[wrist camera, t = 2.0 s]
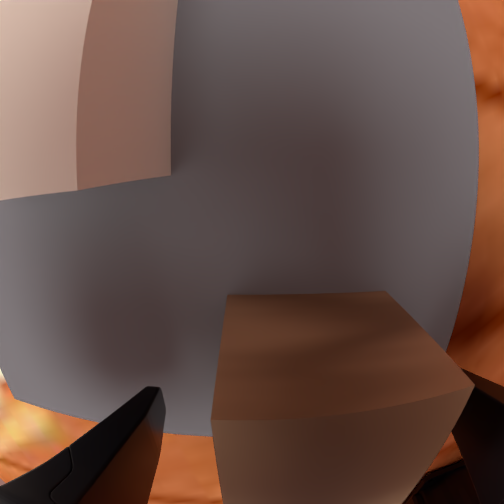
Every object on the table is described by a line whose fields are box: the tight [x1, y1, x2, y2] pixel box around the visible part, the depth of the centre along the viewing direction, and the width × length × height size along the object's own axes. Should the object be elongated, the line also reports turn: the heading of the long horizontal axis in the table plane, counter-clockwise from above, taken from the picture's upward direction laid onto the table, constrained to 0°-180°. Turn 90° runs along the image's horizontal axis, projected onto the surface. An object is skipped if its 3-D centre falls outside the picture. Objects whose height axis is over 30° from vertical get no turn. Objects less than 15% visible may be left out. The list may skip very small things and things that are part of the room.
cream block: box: [0, 0, 178, 200], centre depth 5 cm, size 6×6×5 cm
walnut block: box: [211, 291, 475, 504], centre depth 7 cm, size 5×5×5 cm
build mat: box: [0, 0, 479, 436], centre depth 9 cm, size 20×18×1 cm
